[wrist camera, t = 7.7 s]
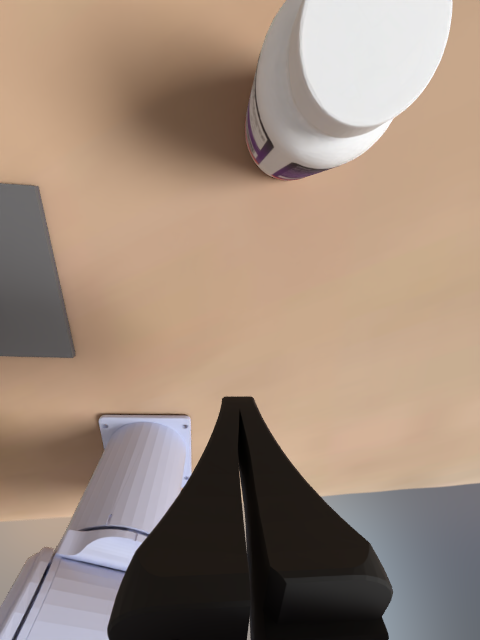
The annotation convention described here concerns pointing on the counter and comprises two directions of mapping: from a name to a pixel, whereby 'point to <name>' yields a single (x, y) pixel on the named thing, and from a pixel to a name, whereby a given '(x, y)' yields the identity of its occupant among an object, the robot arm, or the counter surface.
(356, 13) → the pill bottle
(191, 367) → the counter surface
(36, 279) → the lane
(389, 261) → the counter surface
